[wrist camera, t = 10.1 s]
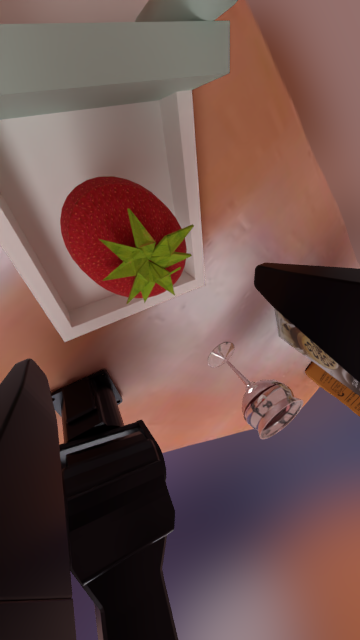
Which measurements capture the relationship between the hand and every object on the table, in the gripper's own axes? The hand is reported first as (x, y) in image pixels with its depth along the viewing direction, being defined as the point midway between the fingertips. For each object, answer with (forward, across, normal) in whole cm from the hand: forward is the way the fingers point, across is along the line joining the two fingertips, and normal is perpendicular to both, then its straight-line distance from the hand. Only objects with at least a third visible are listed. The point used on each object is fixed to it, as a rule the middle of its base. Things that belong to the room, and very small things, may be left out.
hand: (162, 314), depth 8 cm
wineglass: (+13, -12, +22) cm, 28 cm away
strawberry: (+12, -1, -1) cm, 12 cm away
